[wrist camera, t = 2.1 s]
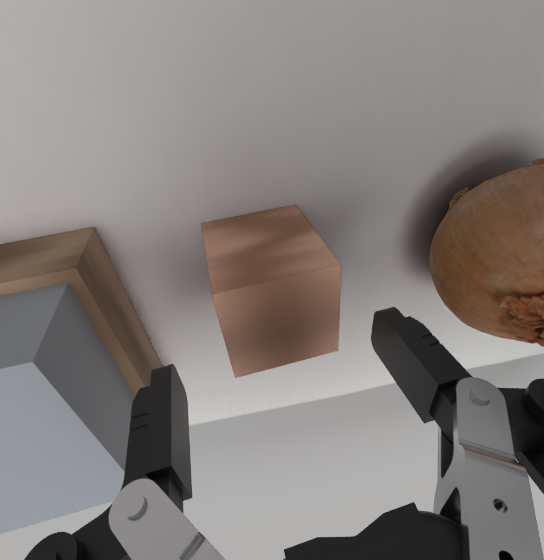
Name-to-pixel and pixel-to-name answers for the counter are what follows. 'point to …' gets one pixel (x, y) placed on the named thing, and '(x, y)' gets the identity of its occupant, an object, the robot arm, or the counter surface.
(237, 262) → the terracotta block
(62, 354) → the slate block
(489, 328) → the onion
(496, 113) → the counter surface
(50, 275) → the walnut block
